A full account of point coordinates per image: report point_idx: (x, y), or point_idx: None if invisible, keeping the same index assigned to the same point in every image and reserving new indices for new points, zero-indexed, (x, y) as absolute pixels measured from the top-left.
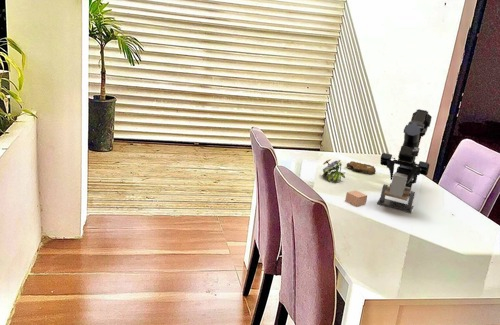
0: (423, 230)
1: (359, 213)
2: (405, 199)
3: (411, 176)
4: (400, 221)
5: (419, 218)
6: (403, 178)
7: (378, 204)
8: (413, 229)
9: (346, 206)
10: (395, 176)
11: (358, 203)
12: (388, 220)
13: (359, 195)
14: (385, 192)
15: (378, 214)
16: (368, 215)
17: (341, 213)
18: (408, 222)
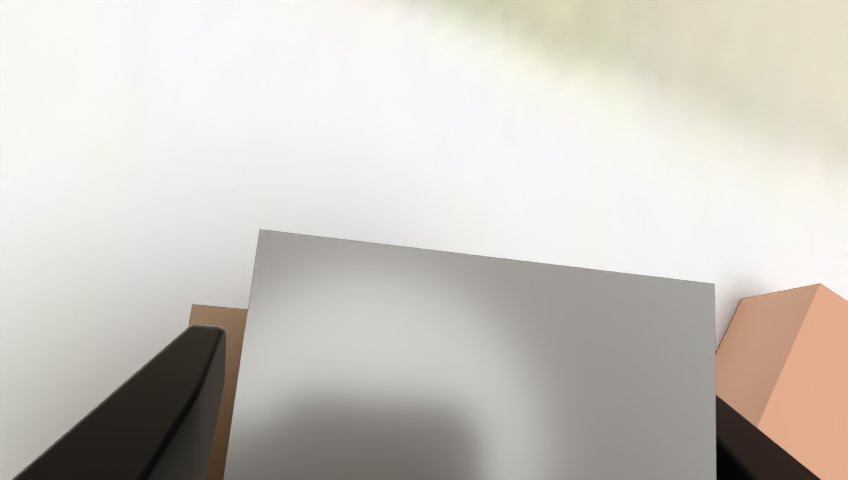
0: (3, 58)
1: (670, 127)
2: (218, 310)
3: (20, 477)
4: (259, 166)
5: (10, 423)
6: (354, 248)
7: None
8: (119, 25)
9: (816, 235)
10: (621, 282)
11: (749, 321)
12: (386, 116)
13: (825, 374)
14: None
15: (500, 221)
16: (586, 128)
17: (800, 29)
18: (167, 192)
